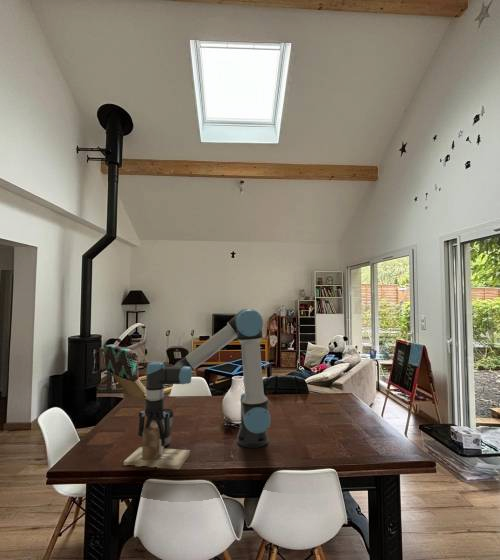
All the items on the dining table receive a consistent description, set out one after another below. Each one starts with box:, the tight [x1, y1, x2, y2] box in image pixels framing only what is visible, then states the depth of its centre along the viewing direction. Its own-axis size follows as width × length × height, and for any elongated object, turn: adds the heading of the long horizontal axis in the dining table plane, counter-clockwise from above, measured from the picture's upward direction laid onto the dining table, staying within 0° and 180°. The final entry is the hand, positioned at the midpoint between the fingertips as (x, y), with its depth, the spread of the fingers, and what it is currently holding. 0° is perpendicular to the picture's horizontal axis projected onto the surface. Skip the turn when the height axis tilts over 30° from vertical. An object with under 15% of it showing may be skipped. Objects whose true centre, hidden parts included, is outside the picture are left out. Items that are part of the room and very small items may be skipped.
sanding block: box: [141, 421, 165, 460], centre depth 141 cm, size 6×9×12 cm, turn 172°
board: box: [123, 446, 191, 470], centre depth 140 cm, size 24×14×2 cm, turn 82°
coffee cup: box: [162, 408, 174, 447], centre depth 157 cm, size 8×8×15 cm
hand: (153, 452), depth 141 cm, fingers closed on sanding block, 6 cm apart
